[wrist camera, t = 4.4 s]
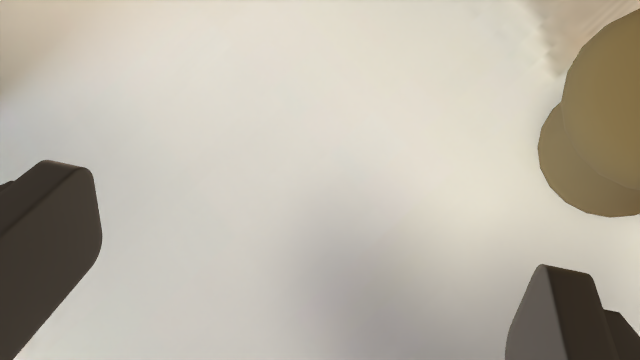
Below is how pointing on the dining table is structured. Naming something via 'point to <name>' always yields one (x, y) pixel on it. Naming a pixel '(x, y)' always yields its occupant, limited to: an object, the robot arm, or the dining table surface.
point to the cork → (598, 125)
